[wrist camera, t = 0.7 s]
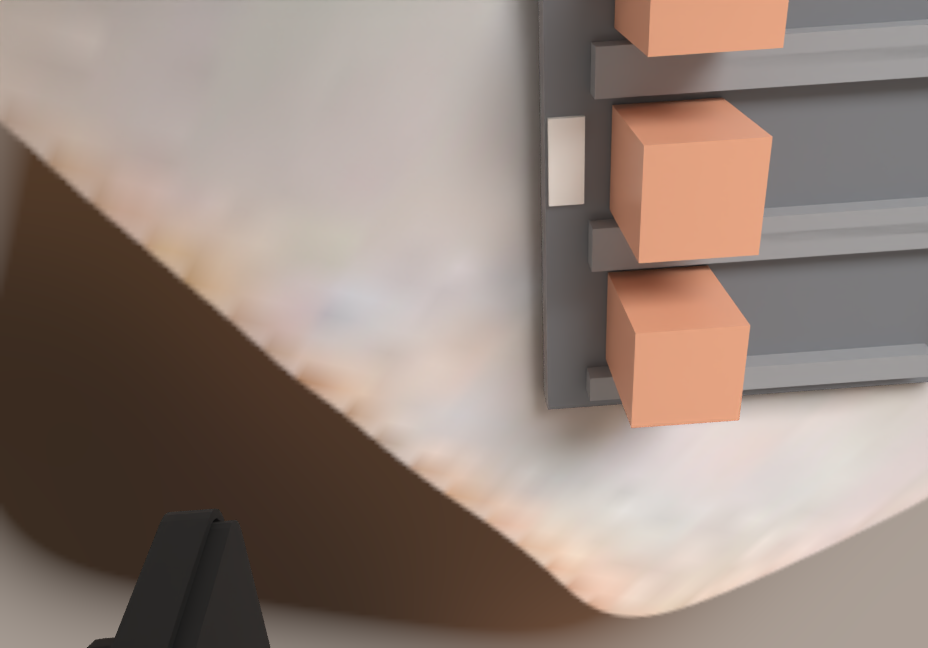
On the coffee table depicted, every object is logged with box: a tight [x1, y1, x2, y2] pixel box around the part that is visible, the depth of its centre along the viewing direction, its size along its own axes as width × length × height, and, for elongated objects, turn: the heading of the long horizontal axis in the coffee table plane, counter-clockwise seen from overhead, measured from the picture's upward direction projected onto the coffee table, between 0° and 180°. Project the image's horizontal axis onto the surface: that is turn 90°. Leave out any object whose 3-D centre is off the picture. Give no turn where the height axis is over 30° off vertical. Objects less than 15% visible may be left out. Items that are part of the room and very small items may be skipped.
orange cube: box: [606, 265, 750, 428], centre depth 29 cm, size 4×4×4 cm
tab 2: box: [610, 97, 773, 263], centre depth 27 cm, size 4×4×4 cm
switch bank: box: [538, 0, 928, 409], centre depth 29 cm, size 20×16×2 cm
